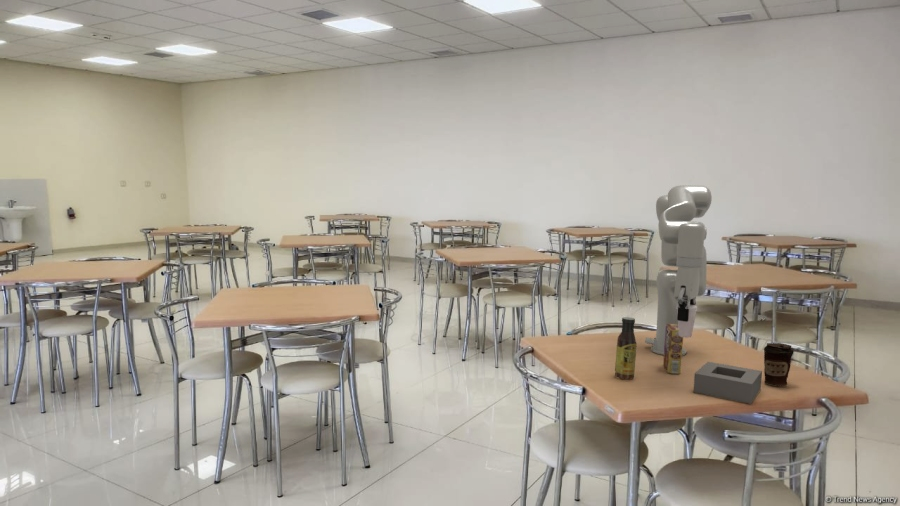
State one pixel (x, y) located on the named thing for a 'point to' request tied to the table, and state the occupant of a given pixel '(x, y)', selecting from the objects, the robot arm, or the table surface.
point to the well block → (728, 382)
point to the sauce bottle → (626, 350)
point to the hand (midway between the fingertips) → (686, 318)
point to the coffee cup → (777, 363)
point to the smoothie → (687, 327)
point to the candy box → (672, 349)
